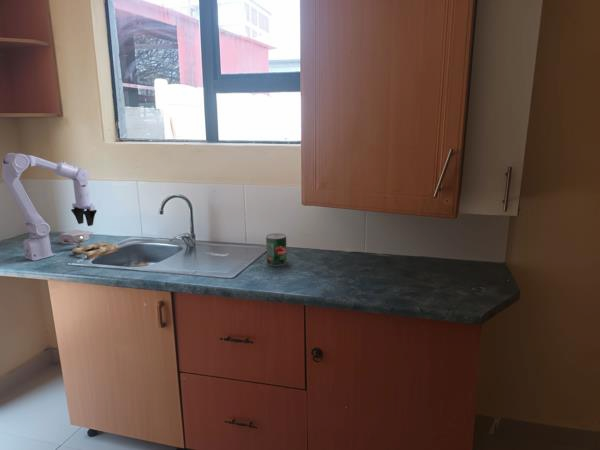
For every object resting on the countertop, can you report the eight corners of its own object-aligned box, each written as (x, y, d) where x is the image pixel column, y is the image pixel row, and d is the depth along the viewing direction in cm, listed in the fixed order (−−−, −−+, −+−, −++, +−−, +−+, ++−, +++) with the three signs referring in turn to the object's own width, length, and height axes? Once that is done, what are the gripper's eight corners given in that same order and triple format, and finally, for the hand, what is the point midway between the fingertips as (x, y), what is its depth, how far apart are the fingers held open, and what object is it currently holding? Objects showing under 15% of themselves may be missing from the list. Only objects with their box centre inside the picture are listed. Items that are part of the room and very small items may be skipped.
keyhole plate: (88, 259, 184) (88, 253, 183) (72, 254, 190) (72, 249, 190) (118, 250, 195) (118, 245, 194) (102, 247, 201) (102, 241, 201)
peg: (77, 251, 196) (75, 238, 194) (71, 249, 199) (69, 236, 197) (88, 248, 200) (87, 235, 199) (82, 246, 203) (80, 234, 201)
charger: (99, 237, 220) (74, 245, 206) (85, 235, 223) (59, 243, 209) (98, 228, 218) (72, 235, 205) (84, 226, 222) (58, 234, 208)
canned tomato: (284, 266, 170) (283, 238, 167) (264, 265, 171) (263, 238, 169) (288, 260, 177) (288, 233, 175) (269, 259, 179) (269, 233, 176)
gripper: (99, 195, 198) (103, 224, 201) (81, 192, 206) (84, 221, 209) (84, 197, 192) (88, 227, 195) (66, 194, 200) (70, 224, 203)
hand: (85, 224), depth 201 cm, fingers open, 7 cm apart
